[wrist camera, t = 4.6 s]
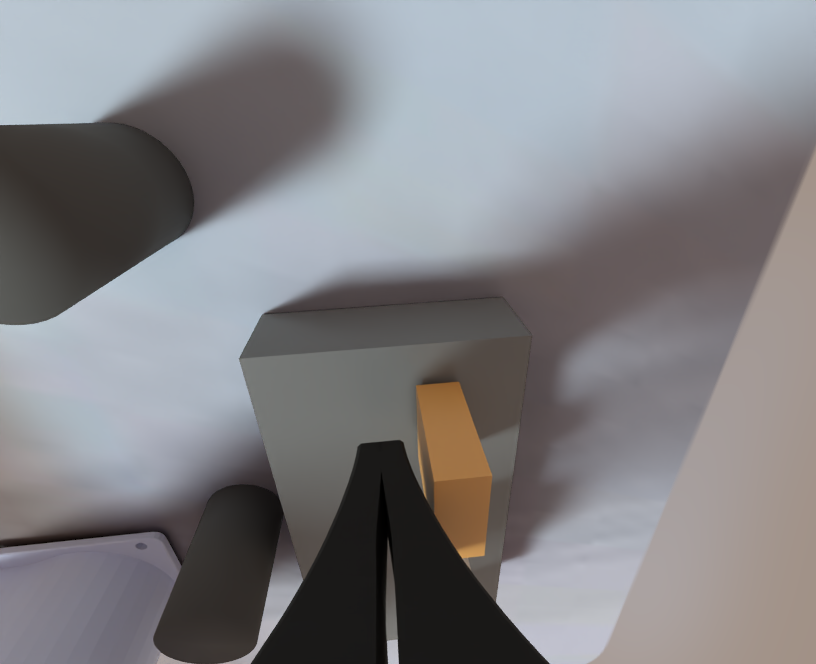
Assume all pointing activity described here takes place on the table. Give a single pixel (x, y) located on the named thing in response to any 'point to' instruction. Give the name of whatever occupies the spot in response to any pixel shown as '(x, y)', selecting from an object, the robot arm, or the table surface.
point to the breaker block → (382, 404)
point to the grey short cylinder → (223, 579)
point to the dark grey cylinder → (81, 211)
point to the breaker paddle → (453, 466)
